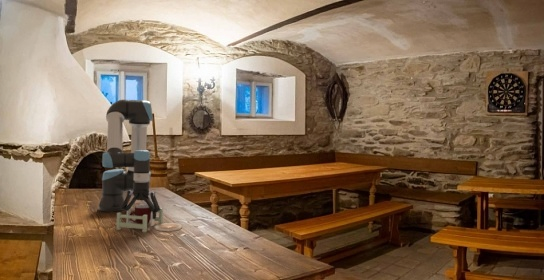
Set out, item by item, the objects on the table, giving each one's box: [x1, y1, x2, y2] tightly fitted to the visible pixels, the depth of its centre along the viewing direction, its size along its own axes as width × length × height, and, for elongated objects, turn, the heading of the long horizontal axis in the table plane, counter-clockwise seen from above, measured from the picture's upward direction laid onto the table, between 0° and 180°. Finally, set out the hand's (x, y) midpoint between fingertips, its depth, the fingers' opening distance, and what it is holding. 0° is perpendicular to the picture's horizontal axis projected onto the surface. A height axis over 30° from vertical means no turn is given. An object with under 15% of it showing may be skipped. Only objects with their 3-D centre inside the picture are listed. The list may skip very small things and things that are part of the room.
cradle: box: [116, 207, 164, 233], centre depth 203 cm, size 15×18×8 cm
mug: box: [129, 204, 152, 227], centre depth 203 cm, size 10×8×10 cm
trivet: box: [154, 222, 183, 232], centre depth 202 cm, size 13×13×1 cm
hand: (140, 224), depth 203 cm, fingers open, 12 cm apart
